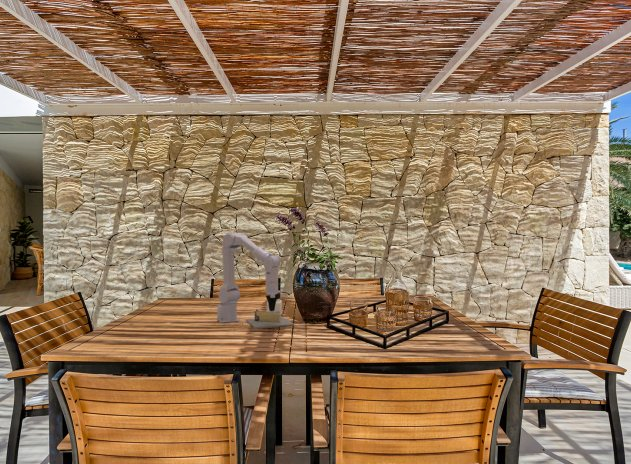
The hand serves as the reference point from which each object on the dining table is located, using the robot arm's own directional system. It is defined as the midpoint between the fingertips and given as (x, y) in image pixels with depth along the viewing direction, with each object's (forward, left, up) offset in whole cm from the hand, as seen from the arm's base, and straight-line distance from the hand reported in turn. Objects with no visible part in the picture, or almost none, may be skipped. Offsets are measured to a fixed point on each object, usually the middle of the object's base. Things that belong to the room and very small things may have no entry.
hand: (271, 310), depth 216 cm
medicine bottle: (+9, +28, -8) cm, 31 cm away
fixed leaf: (+2, +14, -7) cm, 16 cm away
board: (+1, +10, -8) cm, 12 cm away
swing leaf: (+1, +11, -7) cm, 13 cm away
